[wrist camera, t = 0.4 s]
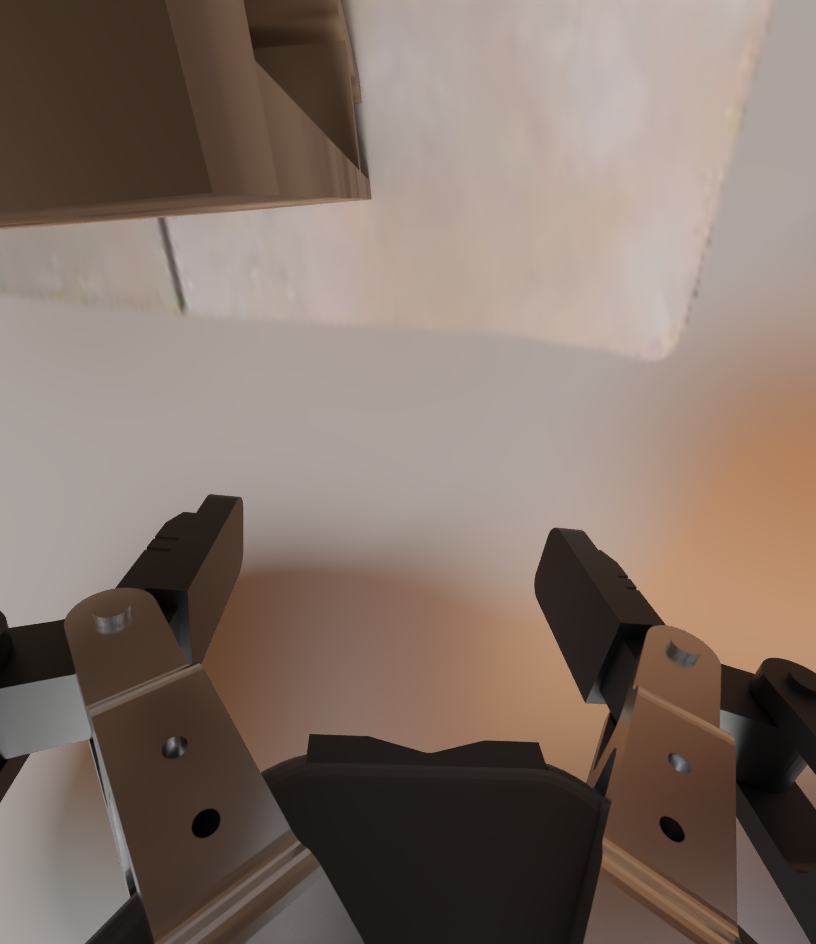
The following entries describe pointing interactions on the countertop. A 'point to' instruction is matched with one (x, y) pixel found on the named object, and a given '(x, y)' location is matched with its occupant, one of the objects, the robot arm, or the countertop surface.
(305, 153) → the tall wooden block
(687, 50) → the countertop surface
